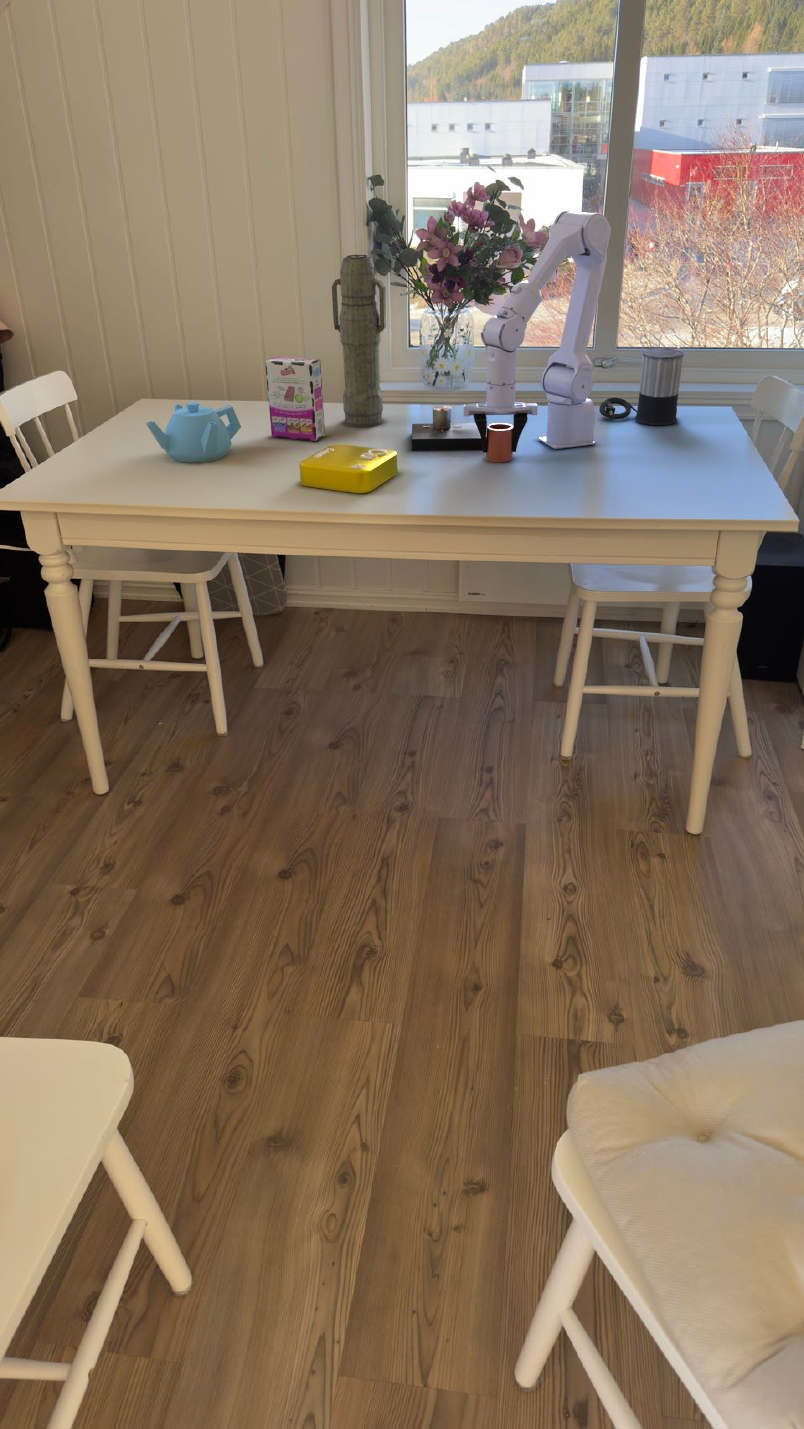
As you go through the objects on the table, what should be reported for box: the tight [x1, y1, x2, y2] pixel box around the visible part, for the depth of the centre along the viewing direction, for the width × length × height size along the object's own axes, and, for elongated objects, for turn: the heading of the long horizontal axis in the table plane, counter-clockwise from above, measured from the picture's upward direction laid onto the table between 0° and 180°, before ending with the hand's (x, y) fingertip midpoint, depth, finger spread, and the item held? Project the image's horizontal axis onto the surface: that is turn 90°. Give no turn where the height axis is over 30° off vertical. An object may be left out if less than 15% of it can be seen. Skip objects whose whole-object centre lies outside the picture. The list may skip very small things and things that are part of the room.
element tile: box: [298, 443, 398, 494], centre depth 198 cm, size 15×15×5 cm
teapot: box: [145, 401, 242, 464], centre depth 212 cm, size 15×15×11 cm
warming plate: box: [411, 422, 487, 452], centre depth 219 cm, size 16×13×3 cm
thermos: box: [331, 254, 387, 428], centre depth 226 cm, size 9×12×35 cm
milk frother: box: [598, 347, 685, 426], centre depth 228 cm, size 14×16×15 cm
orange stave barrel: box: [485, 422, 514, 464], centre depth 207 cm, size 5×5×6 cm
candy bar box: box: [264, 356, 326, 442], centre depth 221 cm, size 11×5×16 cm, turn 68°
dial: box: [432, 405, 452, 429], centre depth 219 cm, size 4×4×4 cm
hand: (499, 450), depth 207 cm, fingers closed on orange stave barrel, 5 cm apart
